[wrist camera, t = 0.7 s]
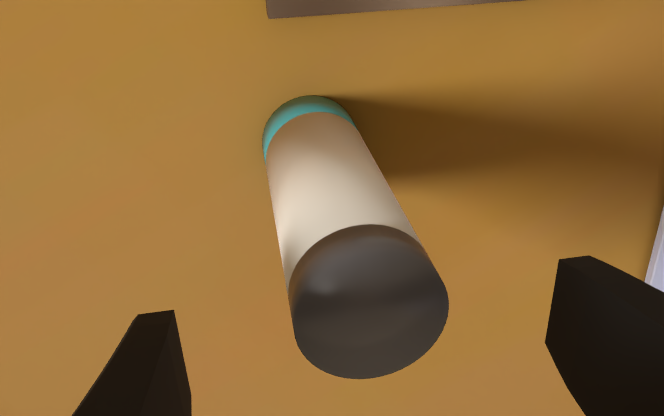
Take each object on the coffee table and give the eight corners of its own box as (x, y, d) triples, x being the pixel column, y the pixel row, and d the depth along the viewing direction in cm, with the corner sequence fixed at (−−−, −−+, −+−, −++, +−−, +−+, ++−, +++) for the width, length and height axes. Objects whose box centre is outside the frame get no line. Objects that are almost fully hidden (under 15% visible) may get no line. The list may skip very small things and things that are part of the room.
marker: (355, 91, 19) (453, 242, 11) (356, 178, 20) (444, 367, 12) (257, 99, 18) (287, 263, 11) (266, 188, 20) (298, 389, 12)
